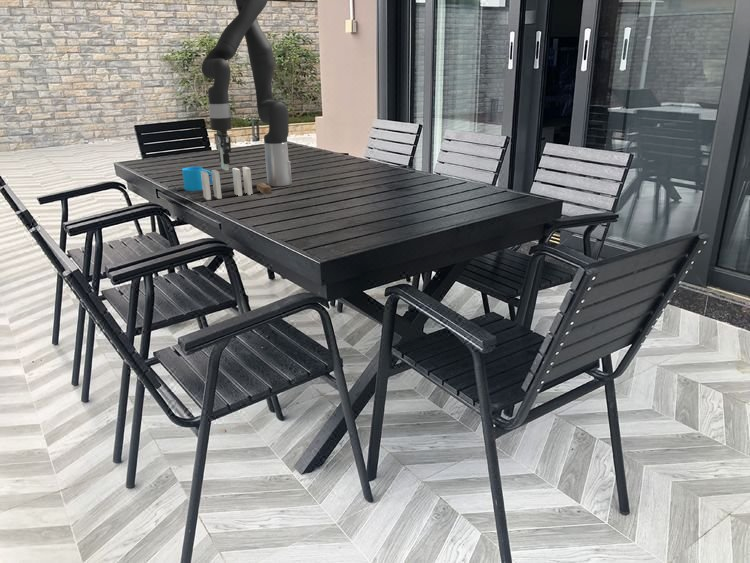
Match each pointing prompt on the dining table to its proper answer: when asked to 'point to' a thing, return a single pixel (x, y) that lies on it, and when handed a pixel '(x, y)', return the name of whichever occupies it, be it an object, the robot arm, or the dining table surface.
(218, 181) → the domino
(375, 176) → the dining table surface
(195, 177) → the mug
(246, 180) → the domino end
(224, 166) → the domino
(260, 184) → the end stop
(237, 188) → the domino
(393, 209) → the dining table surface
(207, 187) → the domino
